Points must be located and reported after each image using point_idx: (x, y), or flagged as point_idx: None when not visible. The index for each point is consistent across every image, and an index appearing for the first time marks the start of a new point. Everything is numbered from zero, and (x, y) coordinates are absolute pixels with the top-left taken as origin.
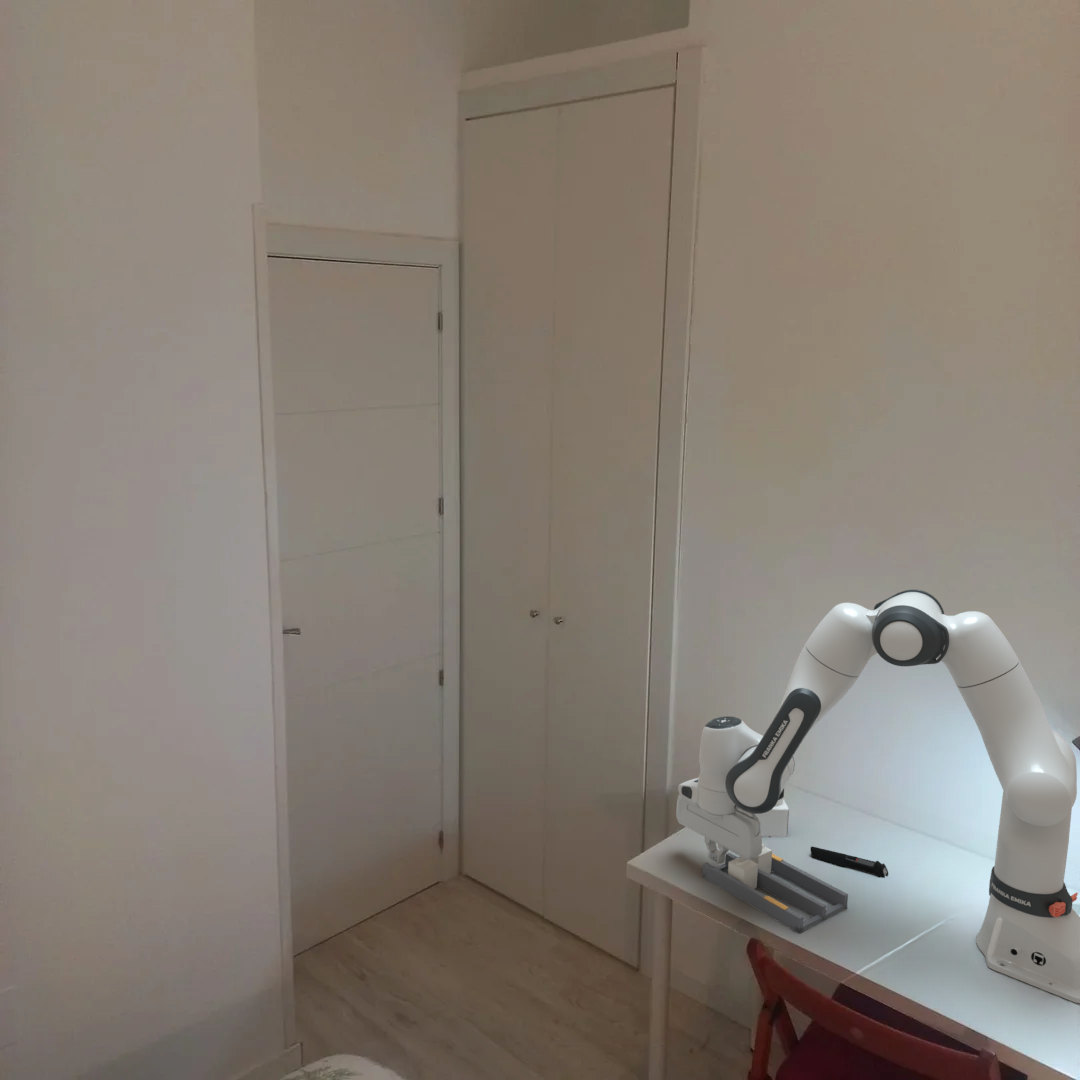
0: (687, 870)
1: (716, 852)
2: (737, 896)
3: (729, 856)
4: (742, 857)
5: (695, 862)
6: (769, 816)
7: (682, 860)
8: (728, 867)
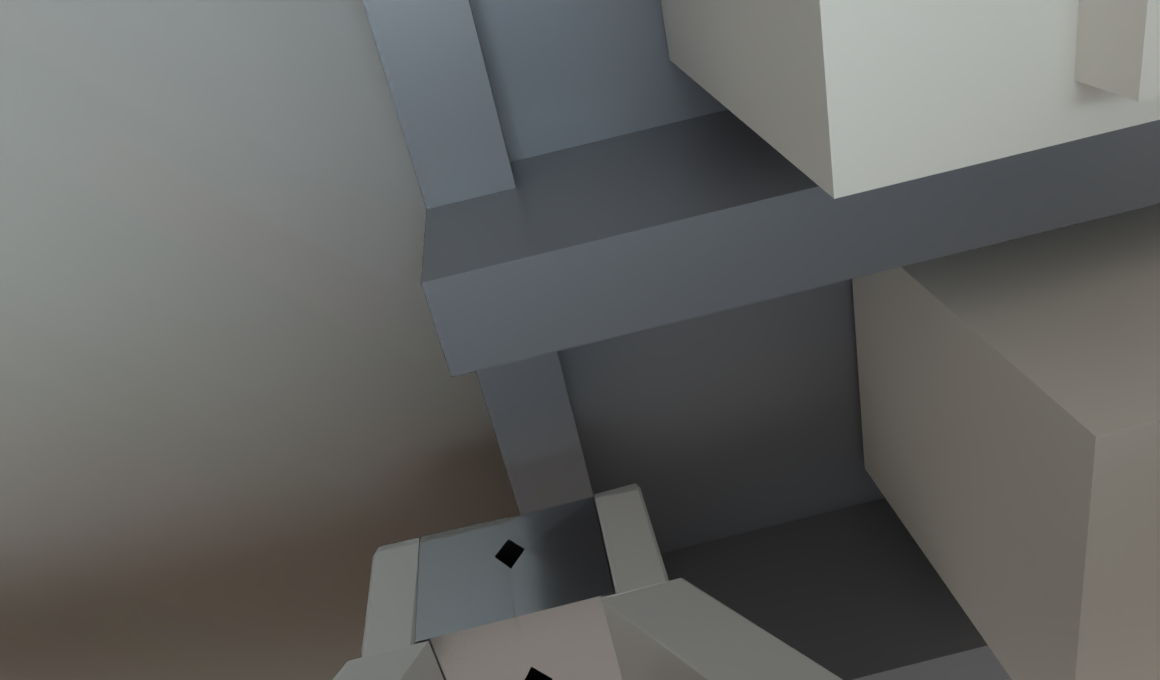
0: (283, 649)
1: (523, 675)
2: None
3: (553, 344)
4: (1148, 475)
5: (102, 494)
6: None
7: (10, 610)
8: (1008, 666)
